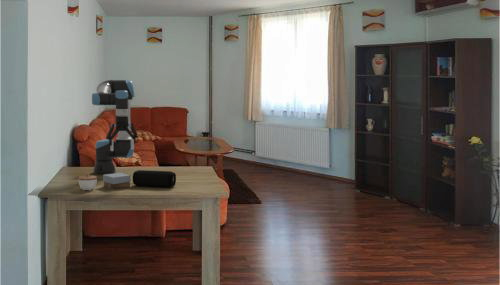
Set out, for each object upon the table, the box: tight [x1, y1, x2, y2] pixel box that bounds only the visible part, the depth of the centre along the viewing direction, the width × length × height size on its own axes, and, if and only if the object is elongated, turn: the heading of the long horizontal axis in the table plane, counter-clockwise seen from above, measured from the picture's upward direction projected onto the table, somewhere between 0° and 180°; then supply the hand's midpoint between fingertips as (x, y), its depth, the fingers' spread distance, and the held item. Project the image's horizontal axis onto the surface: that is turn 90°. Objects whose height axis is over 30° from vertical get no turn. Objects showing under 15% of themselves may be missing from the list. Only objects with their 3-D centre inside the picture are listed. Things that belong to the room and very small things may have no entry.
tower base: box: [103, 181, 131, 190], centre depth 357 cm, size 12×12×4 cm
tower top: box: [102, 172, 132, 184], centre depth 357 cm, size 12×12×4 cm
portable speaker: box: [132, 169, 177, 188], centre depth 361 cm, size 26×10×10 cm, turn 84°
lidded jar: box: [77, 173, 98, 191], centre depth 348 cm, size 11×11×9 cm
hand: (122, 150), depth 358 cm, fingers open, 13 cm apart
